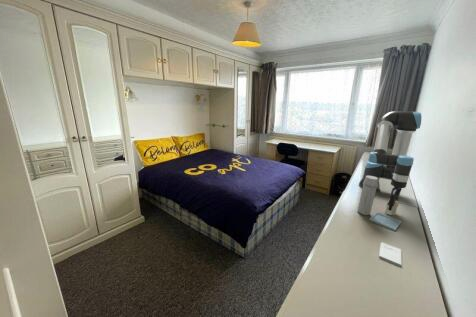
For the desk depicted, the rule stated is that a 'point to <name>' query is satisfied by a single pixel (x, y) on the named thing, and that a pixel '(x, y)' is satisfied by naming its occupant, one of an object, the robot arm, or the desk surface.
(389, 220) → the tray
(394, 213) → the candle
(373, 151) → the robot arm
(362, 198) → the water bottle
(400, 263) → the external hard drive
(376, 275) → the desk surface
